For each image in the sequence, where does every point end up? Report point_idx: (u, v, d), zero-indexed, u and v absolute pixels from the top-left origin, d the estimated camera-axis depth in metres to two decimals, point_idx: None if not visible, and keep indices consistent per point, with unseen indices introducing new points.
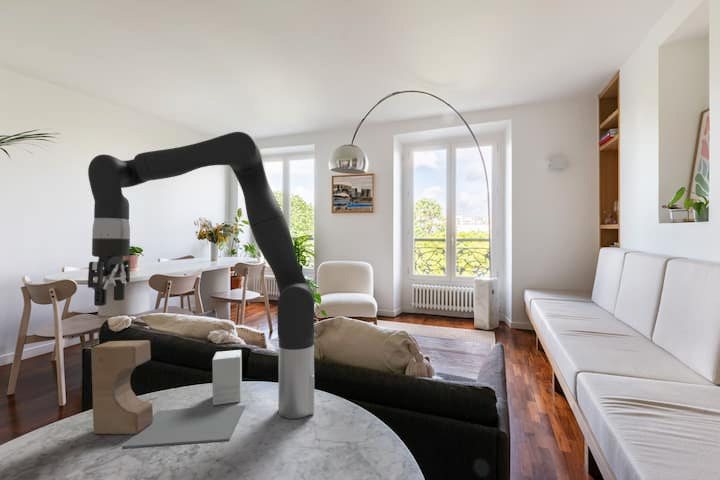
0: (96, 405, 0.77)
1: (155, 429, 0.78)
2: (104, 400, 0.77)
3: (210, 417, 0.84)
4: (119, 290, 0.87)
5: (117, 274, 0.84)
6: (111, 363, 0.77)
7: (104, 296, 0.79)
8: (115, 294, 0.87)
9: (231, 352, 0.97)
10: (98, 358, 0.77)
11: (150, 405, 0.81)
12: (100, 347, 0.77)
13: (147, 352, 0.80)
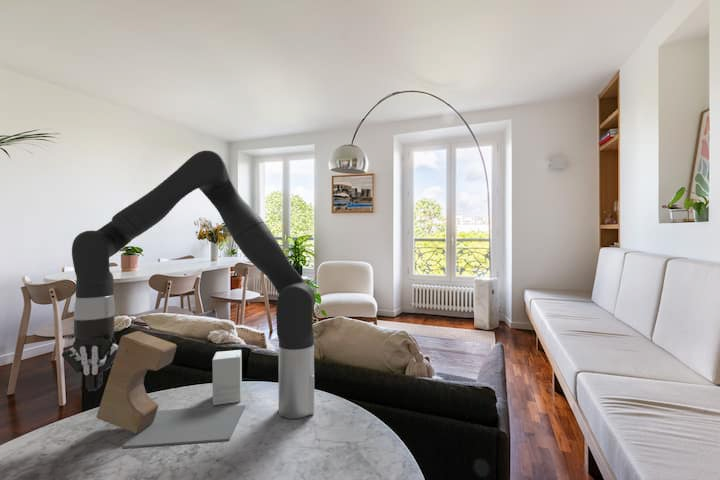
0: (108, 392, 0.77)
1: (155, 429, 0.78)
2: (117, 391, 0.77)
3: (210, 417, 0.84)
4: None
5: None
6: (135, 358, 0.76)
7: None
8: (91, 383, 0.78)
9: (231, 352, 0.97)
10: (125, 348, 0.77)
11: (156, 406, 0.81)
12: (130, 339, 0.77)
13: (171, 356, 0.80)
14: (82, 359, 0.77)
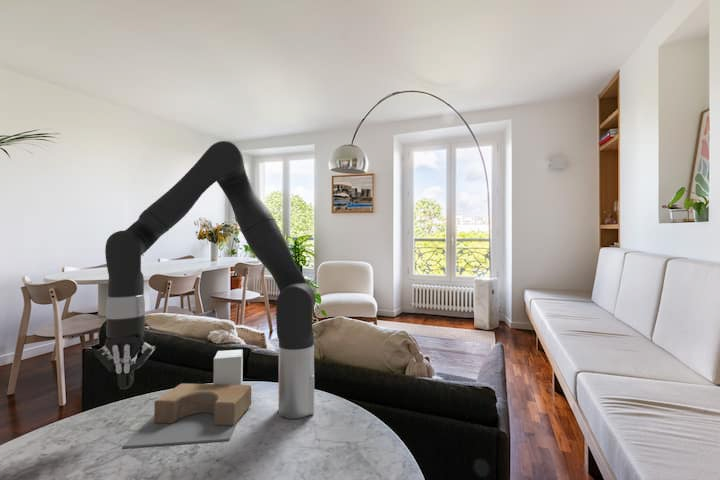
0: (201, 385, 0.90)
1: (155, 429, 0.78)
2: (201, 388, 0.88)
3: (210, 417, 0.84)
4: None
5: None
6: (229, 392, 0.86)
7: None
8: (123, 382, 0.79)
9: (232, 351, 0.98)
10: (239, 387, 0.89)
11: (171, 420, 0.81)
12: (247, 389, 0.88)
13: (222, 420, 0.80)
14: (114, 358, 0.78)
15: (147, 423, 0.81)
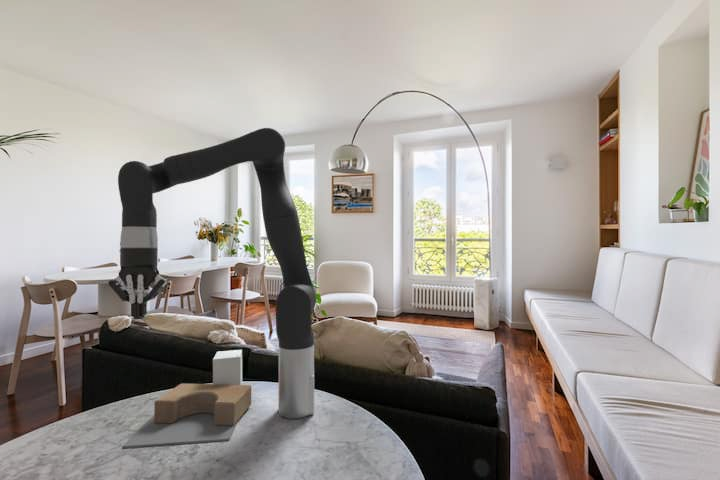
0: (201, 385, 0.90)
1: (155, 429, 0.78)
2: (201, 388, 0.88)
3: (210, 417, 0.84)
4: None
5: None
6: (229, 392, 0.86)
7: None
8: (137, 312, 0.79)
9: (231, 352, 0.98)
10: (239, 387, 0.89)
11: (171, 420, 0.81)
12: (247, 389, 0.88)
13: (222, 420, 0.80)
14: (128, 287, 0.78)
15: (147, 423, 0.81)
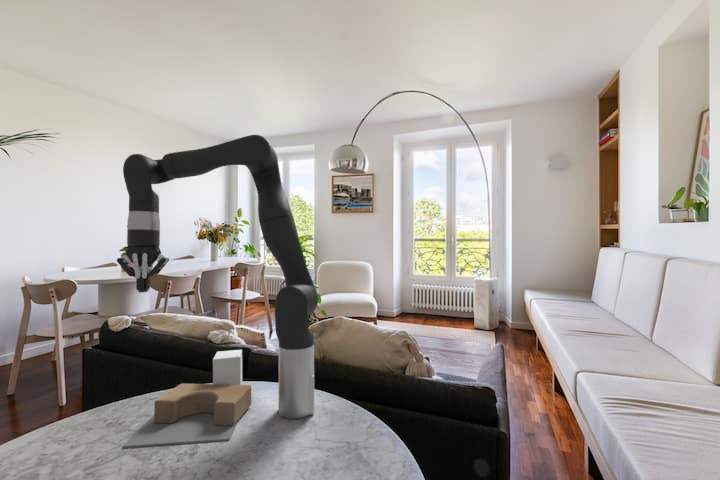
0: (201, 385, 0.90)
1: (155, 429, 0.78)
2: (201, 388, 0.88)
3: (210, 417, 0.84)
4: None
5: None
6: (229, 392, 0.86)
7: None
8: (141, 286, 0.91)
9: (231, 352, 0.98)
10: (239, 387, 0.89)
11: (171, 420, 0.81)
12: (247, 389, 0.88)
13: (222, 420, 0.80)
14: (134, 264, 0.90)
15: (147, 423, 0.81)
